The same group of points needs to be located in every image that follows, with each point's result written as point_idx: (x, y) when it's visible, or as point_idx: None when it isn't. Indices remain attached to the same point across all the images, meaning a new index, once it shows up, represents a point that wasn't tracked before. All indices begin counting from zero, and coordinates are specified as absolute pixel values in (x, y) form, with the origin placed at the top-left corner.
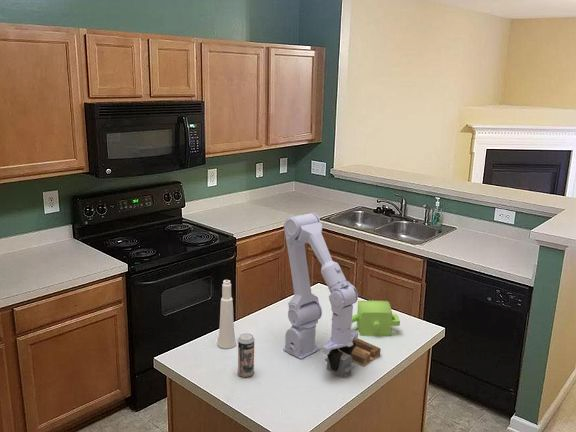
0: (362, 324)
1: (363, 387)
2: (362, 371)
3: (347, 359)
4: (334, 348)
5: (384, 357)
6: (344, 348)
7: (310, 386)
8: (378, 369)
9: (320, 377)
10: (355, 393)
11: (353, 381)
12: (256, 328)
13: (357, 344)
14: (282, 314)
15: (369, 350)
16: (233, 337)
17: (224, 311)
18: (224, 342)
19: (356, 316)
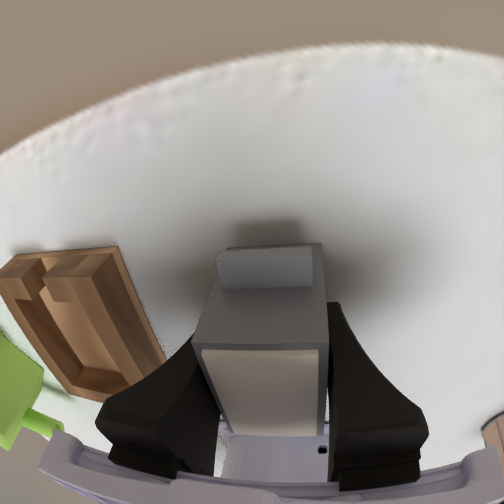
0: (20, 397)
1: (290, 63)
2: (151, 212)
3: (263, 337)
4: (434, 498)
5: (5, 235)
6: (202, 424)
7: (499, 291)
8: (61, 173)
9: (409, 316)
10: (400, 57)
11: (293, 165)
12: None
13: (68, 358)
14: None
15: (37, 305)
16: None
17: None
18: None
19: (28, 424)
